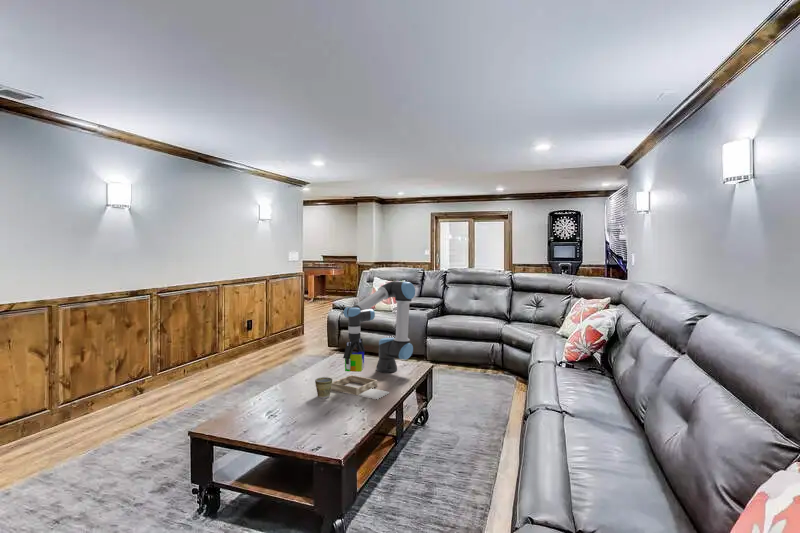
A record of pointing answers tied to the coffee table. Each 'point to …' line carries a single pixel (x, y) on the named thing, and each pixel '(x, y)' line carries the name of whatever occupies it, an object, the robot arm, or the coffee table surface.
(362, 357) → the puzzle toy
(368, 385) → the bin
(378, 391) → the pad
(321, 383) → the ceramic cup
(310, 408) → the coffee table surface
